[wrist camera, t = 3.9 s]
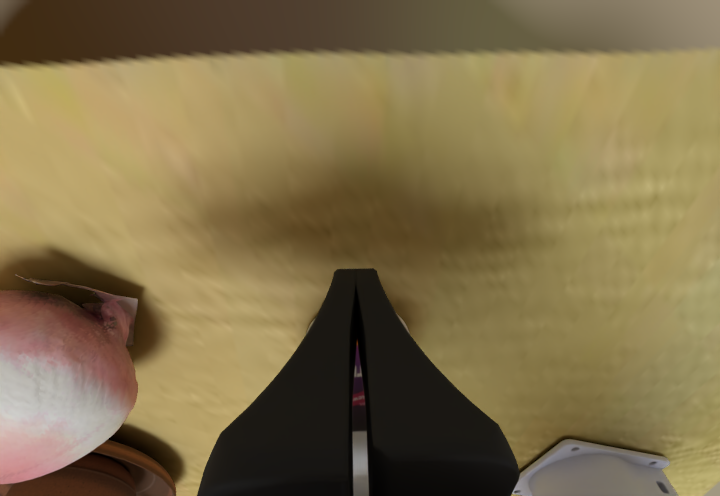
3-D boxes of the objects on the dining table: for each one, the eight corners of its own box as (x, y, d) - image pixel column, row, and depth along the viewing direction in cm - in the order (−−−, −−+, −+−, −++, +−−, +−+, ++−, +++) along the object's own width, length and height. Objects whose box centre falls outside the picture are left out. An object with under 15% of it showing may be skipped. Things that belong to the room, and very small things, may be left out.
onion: (-55, 275, 16) (-278, 438, 11) (97, 232, 15) (-58, 386, 9) (74, 381, 21) (-32, 535, 15) (198, 353, 20) (136, 508, 14)
